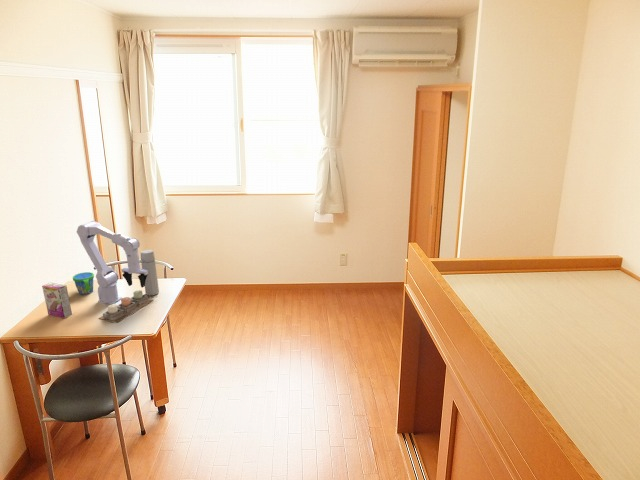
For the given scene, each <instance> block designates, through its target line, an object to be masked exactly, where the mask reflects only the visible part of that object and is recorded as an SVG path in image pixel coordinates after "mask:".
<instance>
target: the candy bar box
mask: <svg viewBox="0 0 640 480" xmlns="http://www.w3.org/2000/svg"><path fill="white" fill-rule="evenodd" d="M42 291H43V292H42V293H43V296H44V300H45V305H46V310H47V314H48V316H53V317H56V318H57V317H58V318H62V319H65V318H68V317H70V316H71V315H73V312H72V308H71V301H70V297H69V292H68V287H67V285H66V284H60V283H54V282H48V283H46V284H43V285H42Z"/></svg>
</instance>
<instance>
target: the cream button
mask: <svg viewBox="0 0 640 480" xmlns="http://www.w3.org/2000/svg"><path fill="white" fill-rule="evenodd" d="M117 305H118V304H116V303H113V304H109V305H108V306H107V311H108V313H109V314H111V315H114V314H116V313H118V307H117Z"/></svg>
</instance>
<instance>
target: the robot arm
mask: <svg viewBox="0 0 640 480" xmlns="http://www.w3.org/2000/svg"><path fill="white" fill-rule="evenodd" d="M76 234H77V235H78V238H79V240H80V243H81V245H82V246H83V248H84V250H85V252H86V253H87V255H88V258H90V261H91V262H92V265H94V267H95V269H96V271H97V273H95V274H96V275H95V278H96V281H97V282H96V283H97V284H98V287H97V294H98V300H97V301H98V303H104V304H109V305H113V304H116V302H118V301H121V299H122V298H123V297H121V296H119V293H118V288H117V287H118V286H117V283H118V280H119V274H118V273H117V272H116V271H115V270H114V268H113V267H110V266H108V264H107V262H106V261H105V259H104V258H103V255H102V254H101V252H100V250H99V248H98V247H97V245H96V243H95V241H94V239H95V237H96V236H97V235H99V236H102V237H105V238H106V239H109V240H111V243H112V244H115V245H116V246H119V247H121V248H122V249H123V250H124V252H125V256H126V261H127V262H126V263H127V267H122V268H121V273H122V275H121V276H122V277H123V278H124V279H125V281H126V283H127V284H128V286H129V287H130V286H132V285H133V274H138V276H137V277H138V280H139V283H140V288H145V281H146V278H147V275H148V270H144V269H142V267H141V264H140V257H139V249H138V248H140V245H141V244H140V242H139V240H138V239H137V238H135V237H129V236H126V235H124V234H122V233H121V232H116V233H115V232H112V231H111V230H110V229H108V228H106V227H105V226H103V225H101V223H100V222H97V221H96V220H91V221H89V222H87V223H84V224H81V225H80V224H79V226H77V229H76Z"/></svg>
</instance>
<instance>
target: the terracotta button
mask: <svg viewBox="0 0 640 480" xmlns="http://www.w3.org/2000/svg"><path fill="white" fill-rule="evenodd" d="M130 298H131V297H129V296H128V297H127V296H126V297H122V299H120V301H121V303H120V304H122V306H123V307H128V306H130V305H131V301H130Z"/></svg>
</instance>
